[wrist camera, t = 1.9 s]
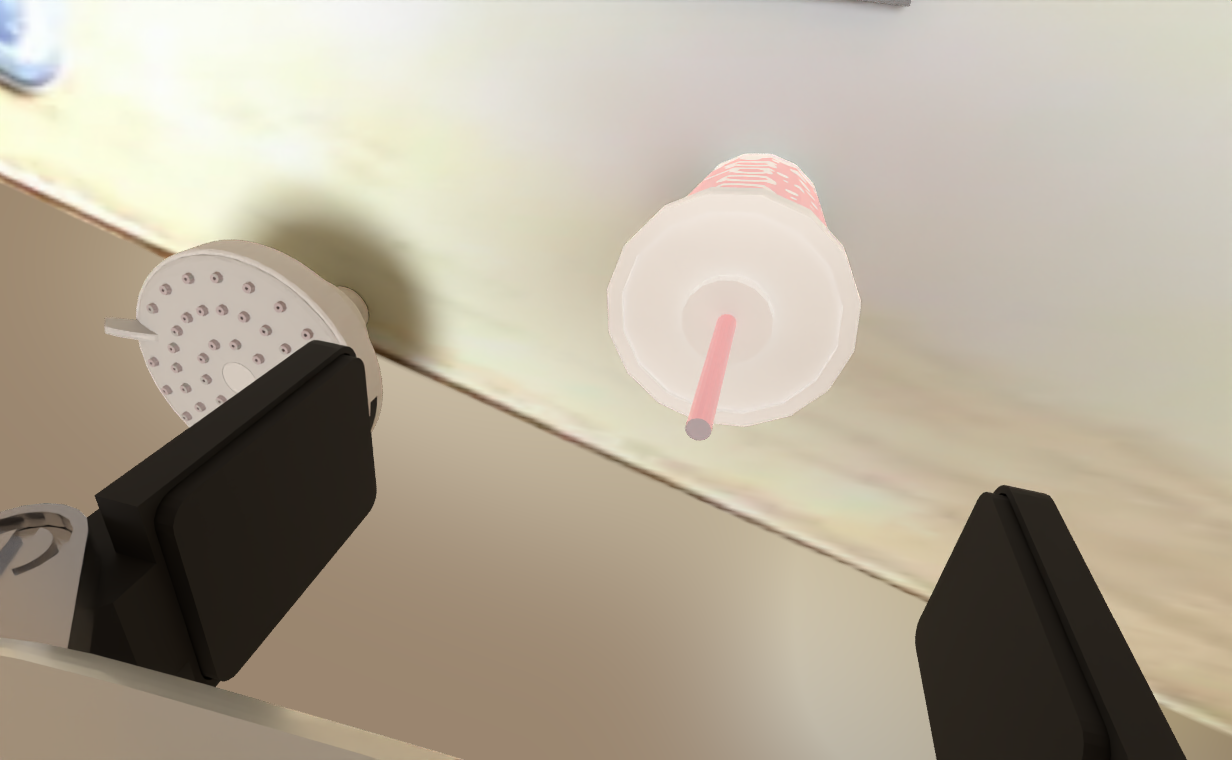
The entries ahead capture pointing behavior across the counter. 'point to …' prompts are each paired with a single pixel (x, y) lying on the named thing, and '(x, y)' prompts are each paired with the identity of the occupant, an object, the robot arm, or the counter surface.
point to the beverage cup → (736, 298)
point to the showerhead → (238, 323)
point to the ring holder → (891, 2)
